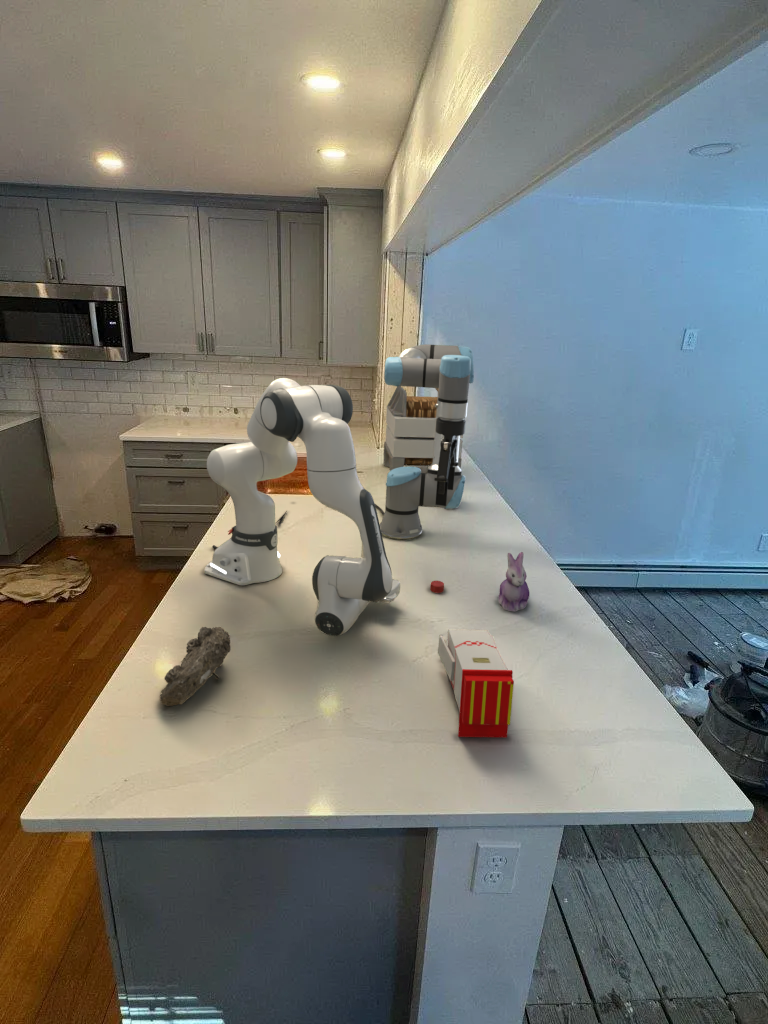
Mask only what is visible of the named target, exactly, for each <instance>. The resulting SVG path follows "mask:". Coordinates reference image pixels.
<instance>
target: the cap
mask: <svg viewBox="0 0 768 1024" xmlns="http://www.w3.org/2000/svg"><path fill="white" fill-rule="evenodd" d="M429 586H430V588H429V590H430V591H431V593H435V594H441V593H443V592H444V591H445V582H443V581H441V580H432V581H430V585H429Z"/></svg>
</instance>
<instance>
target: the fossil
mask: <svg viewBox="0 0 768 1024" xmlns="http://www.w3.org/2000/svg"><path fill="white" fill-rule="evenodd" d="M231 648H232V647H231V635H230V633H229V631H225V630H224V628H223V627H222V626H215V627H214V626H213V627H212V628H211V627H207V626H202V627H200V629H199V631H198V633H197V637H195V638H191V639H189V640H188V641H187V643H186V654H185V656H184V657H183V660H182V661H181V663H180V665H178V664H177V665H174V666H173V667H172V668H171V669H170V670H168V672H166V673H165V675H164V678H163V679H164V681H165V682H166V683H167V684H166V685H165V687H164V688H162V689H161V690H160V694H159V700H160V703H161V705H165V706H167V707H173V706H178V705H183V704H184V703H185V702H186V701H187V700H188V699H190V697H192V696H193V695H194V694H195V693H196V692H197V691H199V690H200V689H201V688H202V687H203V686H204V685H205V684H206V682H207V681H208V679H209V678H210V677H212V675H213V677H215V678H216V680H220V679H221V677H219V675H218V674H216V672H215V671H216V669H217V668H220V667H221V666H222V665H223V663H224V661H225V658H226V657H227V655H228V654H229V653H230V652H231Z"/></svg>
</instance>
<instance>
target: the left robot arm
mask: <svg viewBox="0 0 768 1024" xmlns="http://www.w3.org/2000/svg"><path fill="white" fill-rule="evenodd" d="M353 412H354V404H353V399H352V397H351V395H350V393H349V392H348V390H347V389H345V387H342V386H339V385H335V384H326V385H325V384H305V385H300V383H298V382H297V381H296V380H293V379H291V378H287V377H280V378H276V379H274V380H273V381H272V382H270V383H269V385H268V386H267V387H266V388H265V390H264V391H263V393H262V394H261V396H260V397H259V399H258V400H257V403H256V404H255V406H254V410H253V411H252V413H251V416H250V418H249V420H248V423H247V425H246V434H247V438H248V440H249V441H248V442H247V441H246V442H238V443H230V444H226V445H223V446H220V447H218V448H214V449H212V450H211V451H210V453H209V454H208V455H207V459H206V471H207V474H208V476H209V478H210V479H211V480H212V481H213V483H215V484H216V485H218V486H220V487H222V488H223V489H224V490H225V491H226V493H228V494H229V497H230V498H231V500H232V503H233V509H234V518H235V525H234V526H232V527H231V529H229V530H228V531H227V536H228V535H229V536H230V535H231V537H230V538H229V539H227V540H226V541H224V542H223V543H221V544H220V545H218V546H217V545H214V544H213V545H212V547H211V548H212V549H213V550H214V551H213V554H212V560H211V561H209V562H208V563H207V564H206V565H205V567H204V571H203V573H204V574H205V575H208V576H211V577H214V578H216V579H220V580H223V581H226V582H229V583H232V584H235V585H238V586H247V585H251V584H258V583H265V582H270V581H272V580H275V579H277V578H278V577H280V576H281V575H282V573H283V567H282V564H281V561H280V558H281V554H280V553H279V551H278V539H279V538H278V525H276V503H275V501H274V499H273V498H272V496H271V495H269V494H267V493H266V492H262V491H260V490H258V482H263V481H268V480H274V479H279V478H282V477H285V476H287V475H290V474H291V473H294V471H295V469H296V468H297V465H298V452H297V449H296V448H295V446H294V445H293V444H292V443H294V442H295V441H296V440H297V438H298V439H300V440H301V441H302V442H303V444H304V446H305V451H306V452H305V453H306V475H307V483H308V484H307V485H308V487H309V491H310V493H311V496H313V497H314V498H315V499H316V500H317V501H318V502H319V503H320V504H321V505H322V506H324V507H326V508H329V509H331V510H334V511H336V512H338V513H340V514H342V515H344V516H346V517H347V518H349V519H350V520H351V521H352V522H353V523H354V524H355V525H356V527H357V529H358V531H359V532H358V533H359V536H360V540H361V547H362V546H363V550H364V555H365V558H361V557H354V556H346V555H333V554H332V555H330V554H329V555H328V554H327V555H325V556H323V557H322V558H321V559H320V560H319V561H318V563H317V564H316V566H315V568H314V569H313V571H312V575H311V576H312V578H311V583H312V589H313V592H314V595H315V597H316V599H317V602H318V605H317V608H316V612H315V615H314V624H315V626H316V628H317V629H318V630H319V631H320V632H321V633H323V634H325V635H327V636H331V637H339V636H342V635H344V634H345V633H347V632H348V631H349V630H350V628H351V627H353V625H354V624H355V623H356V622H357V620H358V618H359V616H360V615H361V614H362V613H363V612H364V610H365V609H366V607H367V606H368V605H369V603H370V602H371V603H375V604H376V603H378V602H379V603H384V604H388V603H391V602H394V601H395V599H396V598H397V597H398V596H399V595H400V592H401V581H400V580H398V579H395V578H393V573H392V567H391V565H390V562H389V560H388V557H387V553H386V548H385V544H384V539H383V535H382V534H381V529H380V519H379V515H378V512H377V511H378V510H377V508H376V507H375V504H376V503H375V501H374V498H373V495H372V493H371V492H370V491H368V490H367V489H365V488H364V486H363V484H362V482H361V481H360V478H359V475H358V471H357V460H356V459H357V458H356V450H355V445H354V440H353V434H352V431H351V428H350V426H349V425H348V424H349V423H350V422H351V420H352V417H353Z"/></svg>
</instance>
